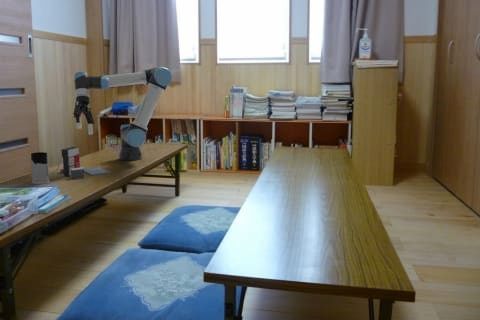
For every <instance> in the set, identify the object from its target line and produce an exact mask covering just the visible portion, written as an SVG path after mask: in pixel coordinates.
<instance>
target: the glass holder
mask: <svg viewBox="0 0 480 320" xmlns="http://www.w3.org/2000/svg"><path fill="white" fill-rule="evenodd" d="M53 157H58V158H59V161H61V157H60V156H59V155H57V154H54V155H52V156H51V158H50V162H48V152H43V151H42V152H39V151H38V152H32V153H31V154H30V165H31V166H30V167H31V179H32V181H31V184H32V183H33V184H32V185H44V184H45V183H46V184H49V183H51V181H50V178H51V176H52V175H53V174H54V173H55V172H56V171H58V170H59V168H60V165H61V162H59V163H58V166H57V168H56V169H55V170H54V171H53V172H51V174H50V173H49V165H50V164H52V160H53V159H54V158H53Z"/></svg>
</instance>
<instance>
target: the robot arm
mask: <svg viewBox="0 0 480 320" xmlns="http://www.w3.org/2000/svg"><path fill="white" fill-rule="evenodd" d="M73 76H74V78H73V79H74V91H75V94H74V95H75V102H74V103H75V106H74V110H73V113H72V115H73V118H75V123H76V130H80V129H82V128H83V125H82V117H81V115H82V114H83V115H84V116H85V120H86V121H87V132H88V133H87V134H88V135H89V136H92V135H94V128H93V127H94V124H95V120H94V118H93V113H92V109H91V107H89V105H90V104H91V103H90V102H91V101H90V91H89V89H90V90H108V89H109V88H113V87H114V88H115V87H122V86H123V87H124V86H133V85H140V84H141V85H144V86H148V89H147V90H146V94H145V96H144V97H143V100H142V102H141V105H140V107H139V109H138V111H137V113H136V116H135V117H134V120H133V121H131V122H130V124H122V125H120V128H119V129H120V130H119V131H120V145H121V146H120V150H119V154H118V160H121V161H139V160H142V159H143V154H142V152H141V149H140V147H141V146H143V145H144V143H145V142H146V139H147V133H148V130H149V129H148V124H149V122H150V121H151V118H152V116H153V113H154V110H155V108H156V106H157V104H158V102H159V99H160V97H161V95H162V93H163V92H165V91H166V89H167V87H168V86H169V85H170V84H171V83H172V81H173V74H172V72H171V71H170V69H169V68H166V67H164V66H159V67H154V68H153V67H152V68H149V69H144V70H142V71H138V72H137V71H136V72H129V73H119V74H109V75H96V76H95V75H92V76H90V75H88V73H87V72H86V71H82V70H81V71H77V72H75V73H74V75H73Z"/></svg>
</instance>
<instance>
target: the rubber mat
mask: <svg viewBox="0 0 480 320" xmlns="http://www.w3.org/2000/svg"><path fill="white" fill-rule="evenodd" d="M111 173H112V172H111V171H110V170H106V169H104V168H101V167H92V168H86V169H84V174H86V175H87V174H88V175H90V176H98V175H99V176H100V175H105V174H111Z"/></svg>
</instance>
